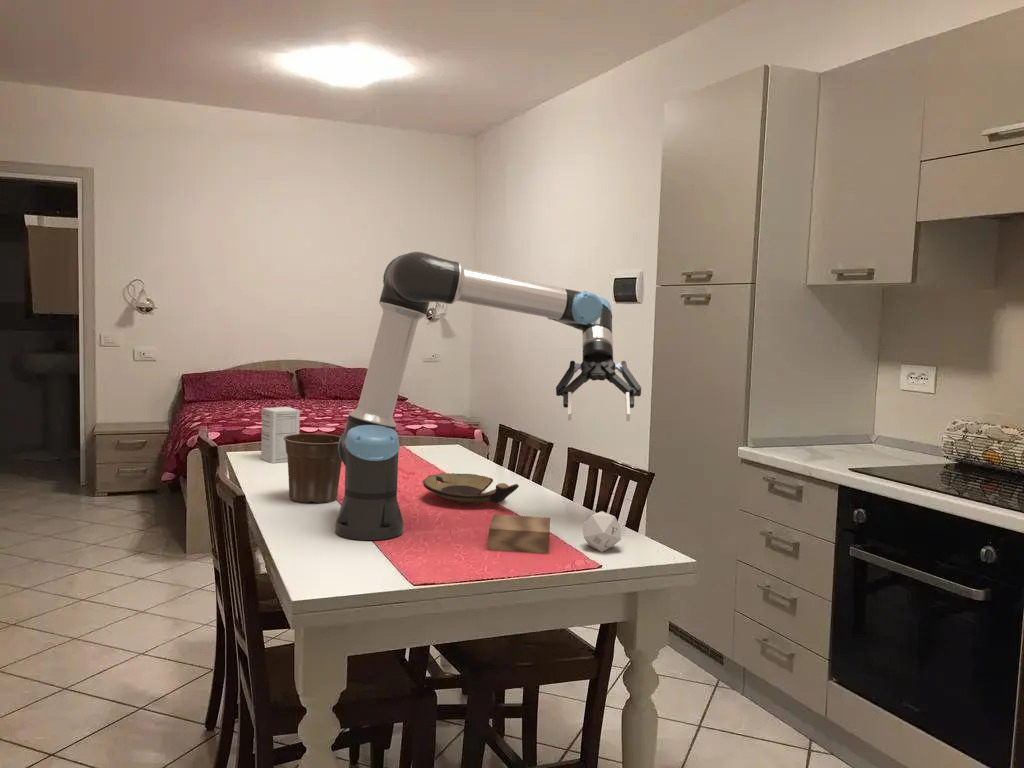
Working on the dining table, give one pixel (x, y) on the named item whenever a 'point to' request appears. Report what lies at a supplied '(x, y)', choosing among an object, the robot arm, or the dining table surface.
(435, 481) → the oil lamp
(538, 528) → the walnut block
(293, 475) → the plant pot
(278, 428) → the supplement box
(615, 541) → the die
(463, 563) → the dining table surface
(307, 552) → the dining table surface
